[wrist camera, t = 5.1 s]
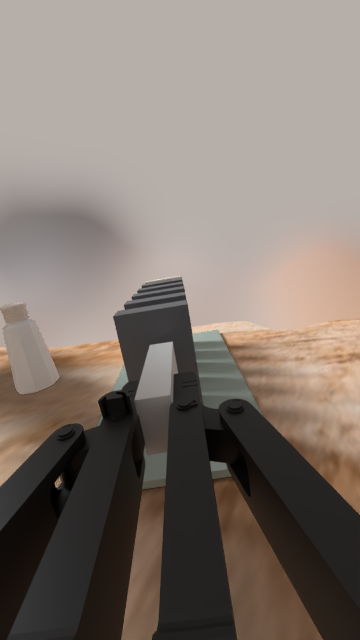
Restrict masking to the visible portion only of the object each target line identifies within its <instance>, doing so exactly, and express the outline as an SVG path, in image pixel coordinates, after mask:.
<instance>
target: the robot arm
mask: <svg viewBox="0 0 360 640" xmlns="http://www.w3.org/2000/svg"><path fill="white" fill-rule="evenodd" d="M98 402H99V406H100V409H101V413H102V417H103V419H102V421H101V423H100V425H99V426H97V427H95V428H92V429H89V430H86V431H84V429H83V426H81V425H80V424H68V425H65V426H63V427H61V428H60V429H58V430H56V431H55V432H54V433H53V434H51V436H50V437H49V438H48V439H47V440H46V441H45V442H44V443H43V444H42V445H41V446H40V447H39V448H38V449H37V450H36V451H35V452H34V453H33V454H32V455H31V456H30V457H29V458H28V459H27V460H26V461H25V462H24V463H23V464H22V465H21V466H20V467H19V468H18V469H17V470H16V471H15V472H14V473H13V474H12V475H11V476H10V478H9V479H8V480H7V481H6V482H5V483H4V484H3V485H2V486H1V487H0V640H121V636H122V629H123V622H124V615H125V608H126V600H127V593H128V586H129V579H130V572H131V565H132V558H133V551H134V543H135V536H136V529H137V522H138V515H139V508H140V501H141V494H142V487H143V479H144V472H145V465H146V464H145V458H144V454H143V453H144V447H145V449H146V453H147V455H153V454H160V453H167V466H166V486H165V506H164V526H163V546H162V566H161V586H160V606H159V622H158V628H157V631H156V632H155V633H154V634H153V637H152V640H237V635H236V629H235V622H234V615H233V609H232V602H231V596H230V589H229V583H228V576H227V570H226V563H225V557H224V550H223V544H222V537H221V531H220V524H219V518H218V511H217V505H216V498H215V492H214V485H213V479H212V472H211V465H210V461H213V462H221V463H226V465H227V468H228V470H229V472H230V474H231V476H232V477H233V479H234V481H235V483H236V485H237V486H238V488H239V490H240V492H241V493H242V495H243V497H244V499H245V501H246V502H247V504H248V506H249V508H250V510H251V511H252V513H253V515H254V517H255V518H256V520H257V522H258V524H259V526H260V527H261V529H262V531H263V533H264V535H265V536H266V538H267V540H268V542H269V544H270V545H271V547H272V549H273V551H274V552H275V554H276V556H277V558H278V560H279V561H280V563H281V565H282V567H283V569H284V570H285V572H286V574H287V576H288V577H289V579H290V581H291V583H292V585H293V586H294V588H295V590H296V592H297V594H298V595H299V597H300V599H301V601H302V602H303V604H304V606H305V608H306V610H307V611H308V613H309V615H310V617H311V619H312V620H313V622H314V624H315V626H316V627H317V629H318V631H319V633H320V635H321V636H322V638H323V640H360V515H359V514H358V513H357V512H356V511H355V510H354V509H353V508H352V507H351V506H350V505H349V504H348V503H347V502H346V501H345V500H344V499H343V497H342V496H341V495H340V494H339V493H338V492H337V491H336V490H335V489H334V488H333V487H332V486H331V485H330V484H329V483H328V482H327V481H326V480H325V479H324V478H323V477H322V476H321V475H320V474H319V473H318V472H317V471H316V470H315V469H314V468H313V467H312V466H311V465H310V464H309V463H308V462H307V461H306V460H305V459H304V458H303V457H302V455H301V454H300V453H299V452H298V451H297V450H296V449H295V448H294V447H293V446H292V445H291V444H290V443H289V442H288V441H287V440H286V439H285V438H284V437H283V436H282V435H281V434H280V433H279V432H278V431H277V430H276V429H275V428H274V427H273V426H272V425H271V424H270V423H269V422H268V421H267V420H266V419H265V418H264V417H263V416H262V415H261V413H260V412H259V411H258V410H257V409H256V408H255V407H254V406H253V405H252V404H251V403H249V402H248V401H246V400H243V399H229V400H226V401H224V402H222V403H221V404H220V405H219V408H218V409H214V408H209V407H206V406H204V405H203V404H202V403H201V401H200V396H199V389H198V383H197V377H196V375H195V374H194V373H193V372H192V371H191V372H184V373H178V369H177V363H176V358H175V352H174V347H173V341H172V342H166V343H160V344H153V345H150V346H149V350H148V353H147V357H146V360H145V364H144V367H143V371H142V375H141V378H140V380H137V381H131V382H127V383H126V384H125V385H124V386H123V387H122V390H117V391H113V392H110V393H108V394H105V395H104V396H102V397H101V398H100V399H99V401H98ZM59 476H60V478H61V481H62V483H61V484H60V486H59V487H58V488H56V487H55V484H54V483H55V481H56V480H57V479H58V477H59Z"/></svg>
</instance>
